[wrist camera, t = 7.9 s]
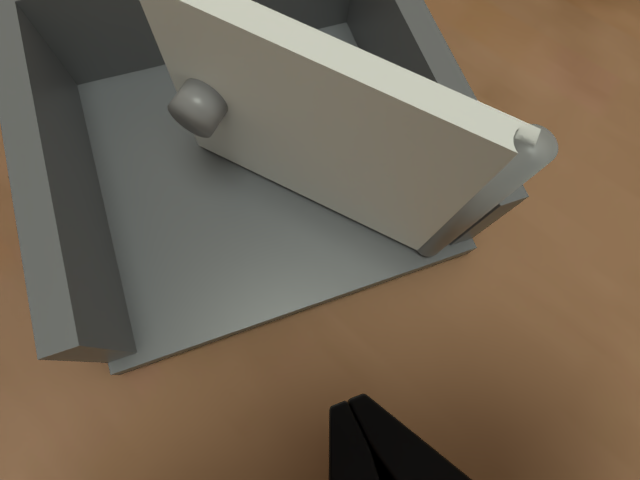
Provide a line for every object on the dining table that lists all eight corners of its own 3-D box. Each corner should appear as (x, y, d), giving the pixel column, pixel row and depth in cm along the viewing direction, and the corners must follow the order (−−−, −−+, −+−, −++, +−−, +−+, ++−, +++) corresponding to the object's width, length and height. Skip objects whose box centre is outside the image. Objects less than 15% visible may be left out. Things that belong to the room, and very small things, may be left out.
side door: (443, 239, 19) (563, 135, 11) (426, 281, 19) (539, 206, 10) (210, 128, 20) (152, -47, 12) (185, 164, 20) (104, 7, 11)
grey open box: (468, 253, 21) (544, 202, 14) (119, 374, 18) (28, 376, 12) (342, -13, 26) (359, -138, 19) (52, 51, 23) (-39, -72, 16)
